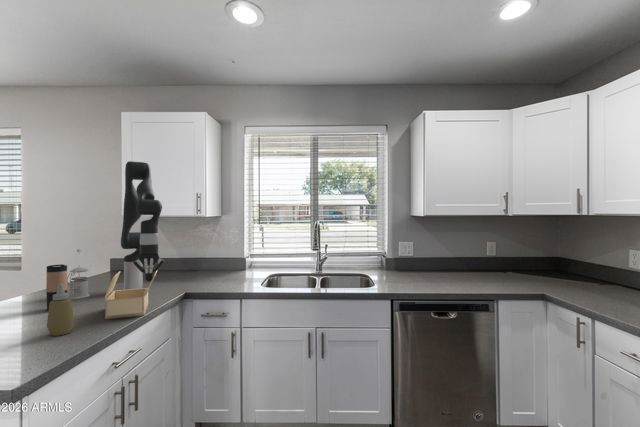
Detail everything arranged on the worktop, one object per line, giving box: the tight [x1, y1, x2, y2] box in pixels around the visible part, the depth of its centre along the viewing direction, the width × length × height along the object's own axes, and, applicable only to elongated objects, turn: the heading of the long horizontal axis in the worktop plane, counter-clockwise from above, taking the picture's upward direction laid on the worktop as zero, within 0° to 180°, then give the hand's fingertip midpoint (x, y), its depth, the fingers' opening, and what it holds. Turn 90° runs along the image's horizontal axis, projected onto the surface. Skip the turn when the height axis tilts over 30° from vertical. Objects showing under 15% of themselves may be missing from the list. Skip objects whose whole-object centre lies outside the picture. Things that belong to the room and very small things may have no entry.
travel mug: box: [46, 264, 68, 312], centre depth 156 cm, size 8×8×20 cm
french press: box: [67, 248, 91, 300], centre depth 180 cm, size 10×12×25 cm
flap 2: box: [145, 270, 158, 295], centre depth 156 cm, size 17×1×9 cm, turn 22°
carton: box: [104, 287, 149, 320], centre depth 152 cm, size 23×14×8 cm, turn 22°
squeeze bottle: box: [46, 284, 75, 337], centre depth 124 cm, size 8×8×18 cm
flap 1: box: [104, 271, 121, 300], centre depth 150 cm, size 17×1×9 cm, turn 22°
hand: (149, 281), depth 155 cm, fingers closed
